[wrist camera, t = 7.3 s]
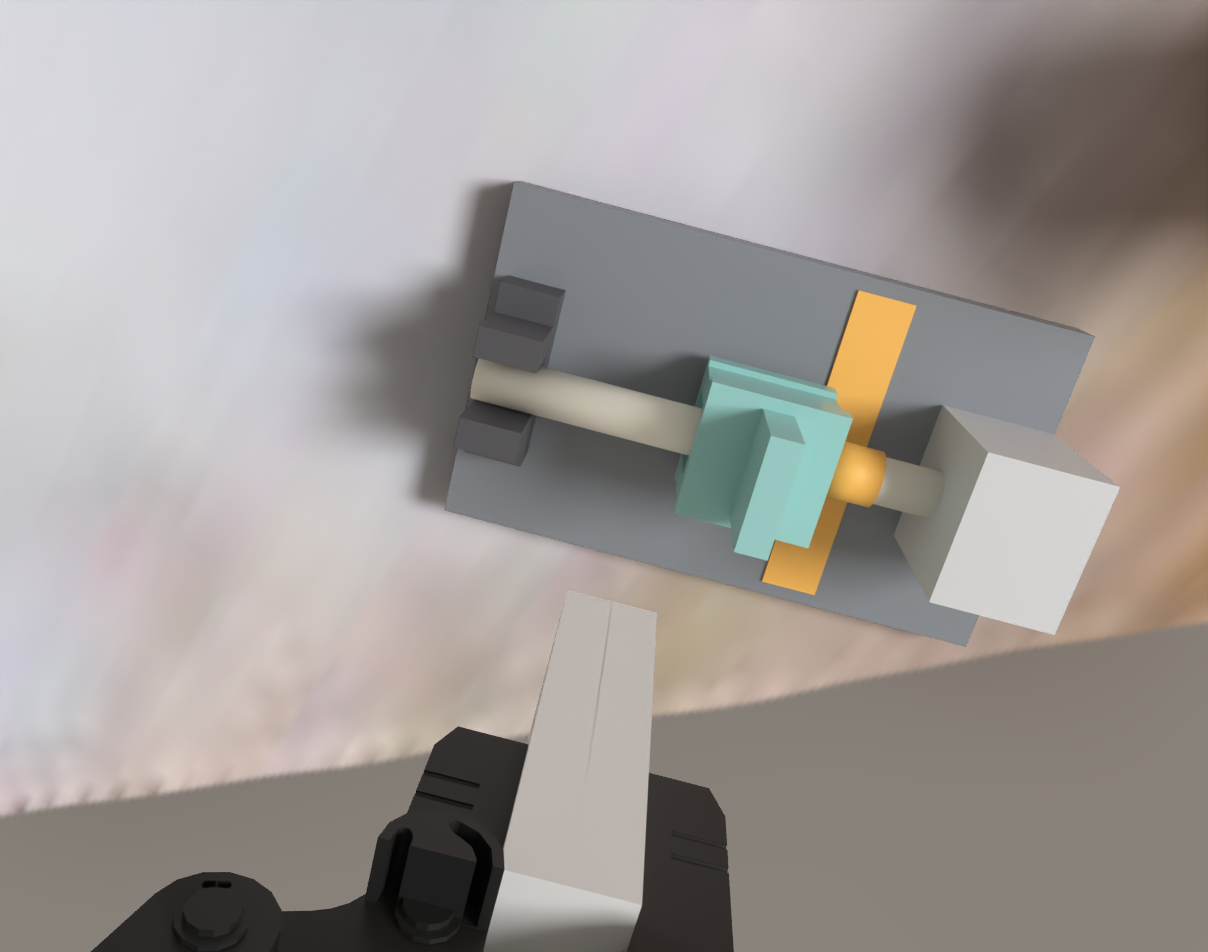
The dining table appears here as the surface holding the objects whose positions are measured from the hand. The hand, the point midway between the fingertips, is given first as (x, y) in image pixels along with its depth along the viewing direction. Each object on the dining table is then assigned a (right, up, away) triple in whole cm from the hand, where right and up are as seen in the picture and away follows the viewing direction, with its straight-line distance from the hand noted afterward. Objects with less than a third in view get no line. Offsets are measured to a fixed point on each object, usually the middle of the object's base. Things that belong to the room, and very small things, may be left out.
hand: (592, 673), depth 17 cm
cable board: (+5, +5, +20) cm, 22 cm away
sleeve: (+5, +5, +19) cm, 20 cm away
